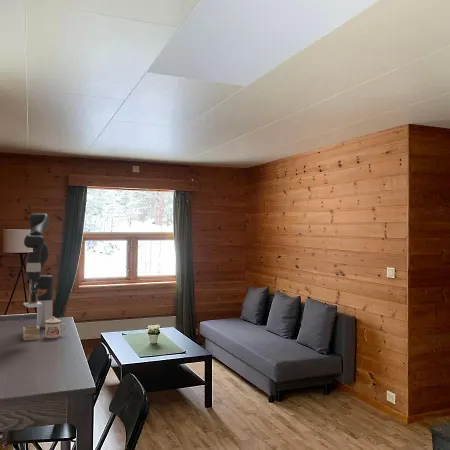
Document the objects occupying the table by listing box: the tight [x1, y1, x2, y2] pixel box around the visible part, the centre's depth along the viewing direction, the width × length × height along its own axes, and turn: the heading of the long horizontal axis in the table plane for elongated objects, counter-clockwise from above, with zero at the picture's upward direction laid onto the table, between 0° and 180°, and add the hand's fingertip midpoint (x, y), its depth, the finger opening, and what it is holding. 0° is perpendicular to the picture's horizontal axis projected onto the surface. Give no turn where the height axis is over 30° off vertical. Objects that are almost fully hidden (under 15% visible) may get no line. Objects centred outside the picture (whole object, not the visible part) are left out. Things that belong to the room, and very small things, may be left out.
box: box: [22, 325, 41, 341], centre depth 270 cm, size 8×8×6 cm
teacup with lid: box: [44, 316, 67, 339], centre depth 275 cm, size 12×9×12 cm
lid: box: [23, 293, 42, 309], centre depth 263 cm, size 9×9×7 cm
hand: (32, 301), depth 263 cm, fingers closed on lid, 4 cm apart
